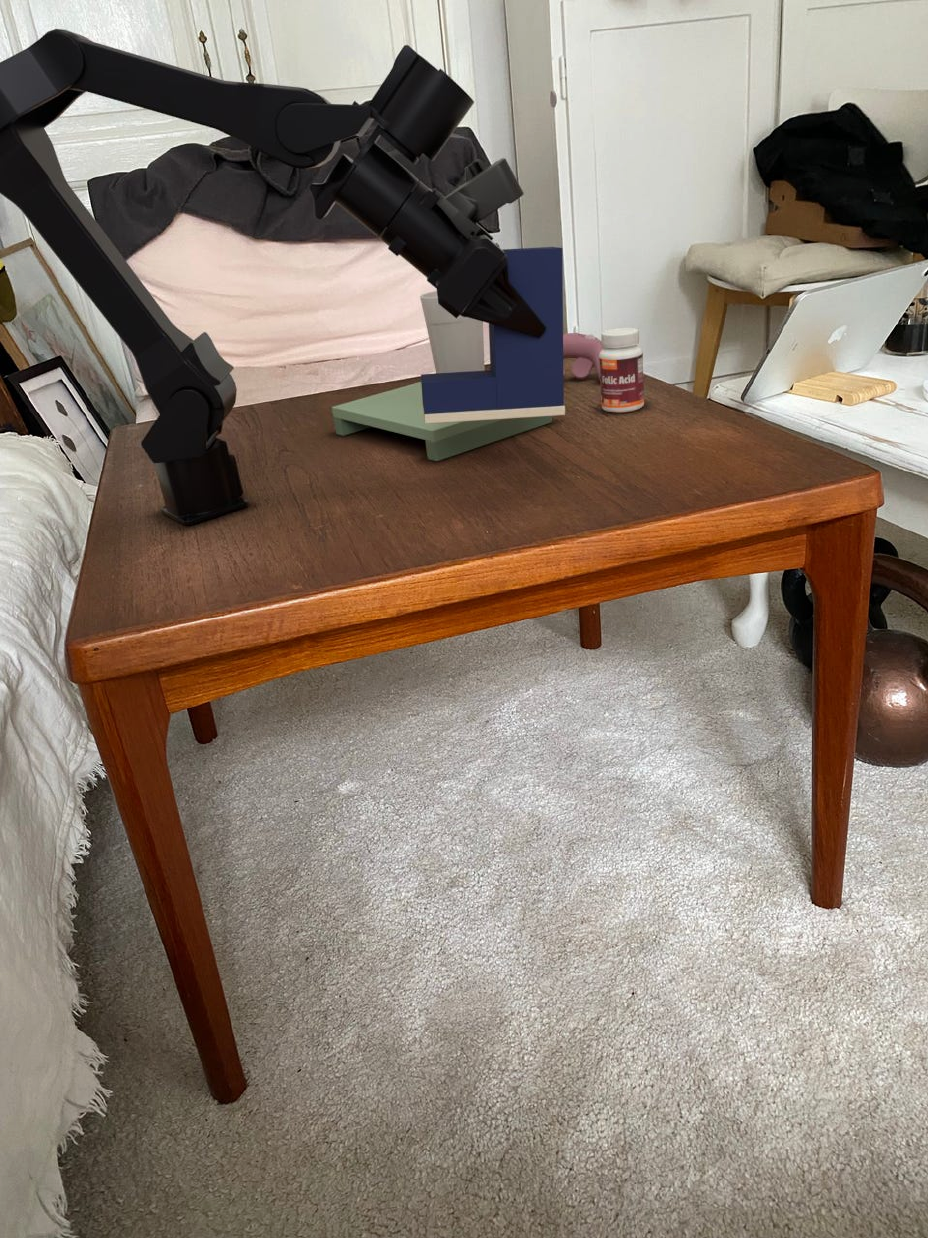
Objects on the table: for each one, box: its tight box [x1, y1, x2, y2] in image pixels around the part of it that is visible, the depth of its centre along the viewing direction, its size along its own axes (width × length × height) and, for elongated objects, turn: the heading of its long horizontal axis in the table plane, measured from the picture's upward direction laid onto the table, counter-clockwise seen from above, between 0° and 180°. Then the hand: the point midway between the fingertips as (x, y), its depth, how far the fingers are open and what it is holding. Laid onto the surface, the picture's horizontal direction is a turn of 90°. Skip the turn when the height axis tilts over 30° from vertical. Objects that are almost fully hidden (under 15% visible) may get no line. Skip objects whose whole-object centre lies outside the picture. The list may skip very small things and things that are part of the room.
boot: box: [420, 246, 566, 424], centre depth 85 cm, size 13×6×14 cm, turn 94°
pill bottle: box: [599, 327, 645, 414], centre depth 105 cm, size 5×5×8 cm
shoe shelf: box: [331, 381, 553, 462], centre depth 107 cm, size 16×20×3 cm
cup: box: [419, 290, 486, 374], centre depth 123 cm, size 8×8×12 cm
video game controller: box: [563, 332, 604, 381], centre depth 120 cm, size 10×5×7 cm, turn 84°
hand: (539, 327), depth 85 cm, fingers closed on boot, 5 cm apart
